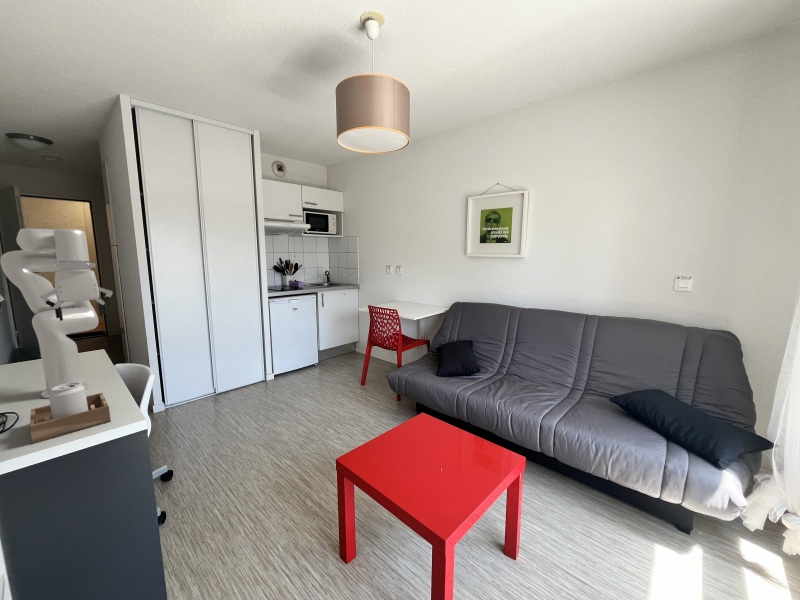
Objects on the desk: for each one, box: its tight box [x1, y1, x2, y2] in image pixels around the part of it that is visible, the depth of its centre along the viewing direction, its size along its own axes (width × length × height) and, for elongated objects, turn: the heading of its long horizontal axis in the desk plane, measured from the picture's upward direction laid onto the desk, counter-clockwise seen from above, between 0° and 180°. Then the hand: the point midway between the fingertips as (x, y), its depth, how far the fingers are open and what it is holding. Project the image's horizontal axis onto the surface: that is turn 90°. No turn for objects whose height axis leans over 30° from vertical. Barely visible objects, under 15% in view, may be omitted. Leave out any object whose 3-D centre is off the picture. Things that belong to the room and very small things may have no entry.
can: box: [48, 382, 88, 420], centre depth 97 cm, size 8×8×12 cm
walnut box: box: [29, 392, 112, 445], centre depth 99 cm, size 16×16×5 cm
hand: (81, 318), depth 109 cm, fingers open, 9 cm apart
